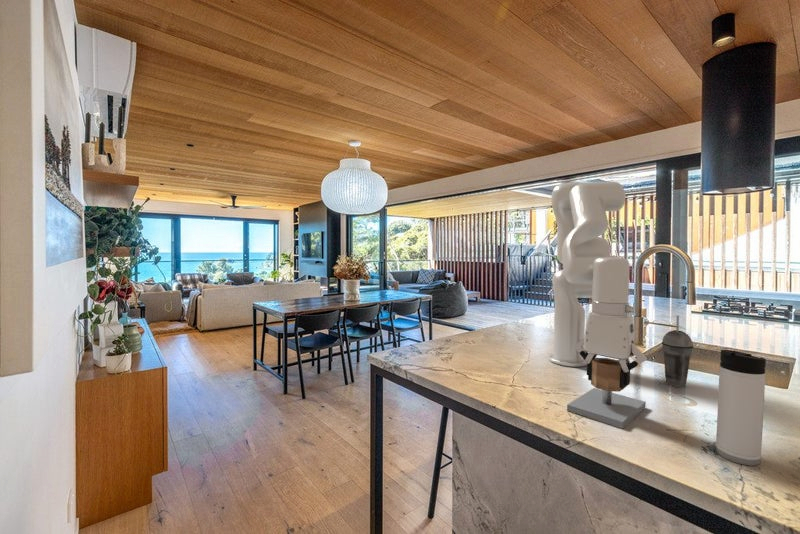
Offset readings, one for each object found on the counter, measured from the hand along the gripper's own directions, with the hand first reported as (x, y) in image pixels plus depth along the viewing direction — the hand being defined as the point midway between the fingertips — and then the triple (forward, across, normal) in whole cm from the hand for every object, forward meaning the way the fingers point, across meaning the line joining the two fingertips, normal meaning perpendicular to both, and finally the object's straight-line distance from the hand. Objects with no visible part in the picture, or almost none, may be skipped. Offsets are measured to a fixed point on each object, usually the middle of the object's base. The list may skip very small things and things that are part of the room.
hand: (607, 382), depth 90 cm
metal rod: (+5, 0, 0) cm, 5 cm away
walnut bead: (+1, 0, 0) cm, 1 cm away
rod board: (+7, 0, 0) cm, 7 cm away
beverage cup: (+7, -7, -32) cm, 33 cm away
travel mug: (+7, -24, +4) cm, 25 cm away
